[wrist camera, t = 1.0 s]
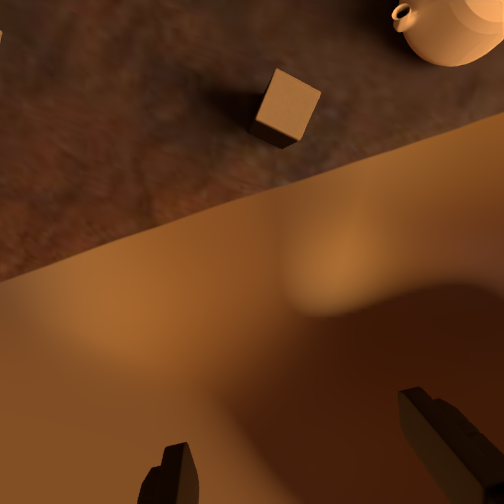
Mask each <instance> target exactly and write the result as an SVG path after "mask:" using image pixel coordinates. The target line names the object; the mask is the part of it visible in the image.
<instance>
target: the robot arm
mask: <svg viewBox="0 0 504 504" xmlns="http://www.w3.org/2000/svg"><path fill="white" fill-rule="evenodd" d="M398 402H399V416H400V425H401V429H402V432H403V434H404V437H405V438H406V440H407V442H408V443H409V445H410V446H411V448H412V449H413V450H414V452H415V453H416V455H417V456H418V457H419V459H420V461H421V462H422V463H423V465H424V466H425V468H426V469H427V470H428V472H429V473H430V475H431V476H432V477H433V479H434V480H435V482H436V483H437V485H438V486H439V488H440V489H441V491H442V492H443V493H444V494H445V496H446V497H447V499H448V500H449V502H450V503H451V504H504V454H503V453H502V452H500V451H499V450H498V449H497V448H496V447H495V446H494V445H493V444H492V443H491V442H490V441H489V440H488V439H487V438H486V437H485V436H484V435H483V434H482V433H480V432H479V430H478V429H477V428H476V427H475V426H474V425H473V424H472V423H470V422H469V420H468V419H467V418H466V417H465V416H464V415H463V414H461V412H460V411H459V410H458V409H457V408H456V407H454V406H452V405H451V404H449V403H447V402H445V401H443V400H442V399H439V398H438V399H434V400H433V399H432V398H431V397H430V396H429V395H428V394H427V393H426V392H425V391H424V390H423V389H422V388H421V387H415V388H411V389H406V390H402V391H399V392H398ZM198 502H199V480H198V474H197V471H196V467H195V464H194V461H193V458H192V455H191V452H190V448H189V445H188V443H187V442H184V443H180V444H176V445H171V446H167V447H166V448H165V450H164V454H163V459H162V463H161V466H157V467H153V468H151V470H150V471H149V473H148V475H147V476H146V478H145V480H144V481H143V483H142V485H141V489H140V493H139V497H138V501H137V504H198Z"/></svg>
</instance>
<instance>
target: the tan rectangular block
mask: <svg viewBox="0 0 504 504" xmlns="http://www.w3.org/2000/svg"><path fill="white" fill-rule="evenodd" d="M320 94H321V92H320V91H318V90H316V89H315V88H313V87H311V86H309V85H307V84H305V83H303V82H302V81H300V80H298V79H296V78H294V77H292V76H290V75H288V74H287V73H285V72H283V71H281V70H279V69H277V68H276V70H275V72H274V74H273V76H272V78H271V80H270V82H269V84H268V86H267V88H266V90H265V92H264V94H263V96H262V99H261V101H260V104H259V106H258V109H257V111H256V113H255V116H254V118H253V121H252V123H251V126H250V128H249V131H248V133H250V134H252V135H254V136H256V137H258V138H260V139H262V140H264V141H266V142H268V143H271V144H273V145H275V146H277V147H279V148H281V149H283V148H285V147H287V146H289V145H292V144H294V143H296V142H298V141H300V139H301V137H302V135H303V133H304V130H305V128H306V126H307V124H308V121H309V119H310V117H311V115H312V112H313V110H314V108H315V105H316V103H317V101H318V99H319V96H320Z"/></svg>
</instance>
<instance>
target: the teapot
mask: <svg viewBox="0 0 504 504" xmlns="http://www.w3.org/2000/svg"><path fill="white" fill-rule="evenodd" d="M392 18H393V19H394V23H393V27H394V28H395V30H396V31H397V32H403V34H404V37H405V39H406V41H407V43H408V44H409V46H410V47H411V48H412V50H413V51H414V52H415V53H416V54H417V55H418V56H419V57H421V58H422V59H424V60H425V61H427V62H430V63H432V64H436V65H440V66H448V67H452V66H459V65H463V64H467V63H470V62H472V61H474V60H476V59H478V58H480V57H482V56H483V55H485V54H486V53H487V52H489V51H490V50H491V49H493V48H494V47H495V46H496V45H498V44H499V43H500V42H501V41H502V40H503V39H504V0H399V6H398V7H396V9H395V10H394V11H393V13H392Z"/></svg>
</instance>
